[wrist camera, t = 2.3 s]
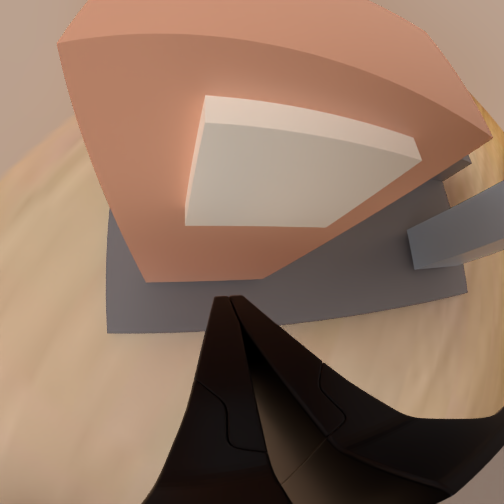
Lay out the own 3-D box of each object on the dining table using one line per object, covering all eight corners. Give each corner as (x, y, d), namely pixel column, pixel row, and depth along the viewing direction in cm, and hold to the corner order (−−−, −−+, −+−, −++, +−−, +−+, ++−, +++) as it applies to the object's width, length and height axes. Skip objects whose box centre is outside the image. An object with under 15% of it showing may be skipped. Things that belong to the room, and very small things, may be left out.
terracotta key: (263, 286, 15) (502, 158, 3) (146, 290, 14) (40, 70, 1) (257, 225, 16) (425, 31, 4) (146, 224, 14) (129, -44, 2)
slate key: (456, 270, 20) (583, 224, 8) (415, 274, 18) (575, 216, 6) (449, 232, 21) (567, 174, 9) (406, 229, 19) (552, 152, 7)
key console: (461, 294, 21) (503, 283, 17) (110, 333, 14) (83, 334, 9) (430, 167, 25) (464, 144, 20) (123, 127, 17) (117, 73, 12)
